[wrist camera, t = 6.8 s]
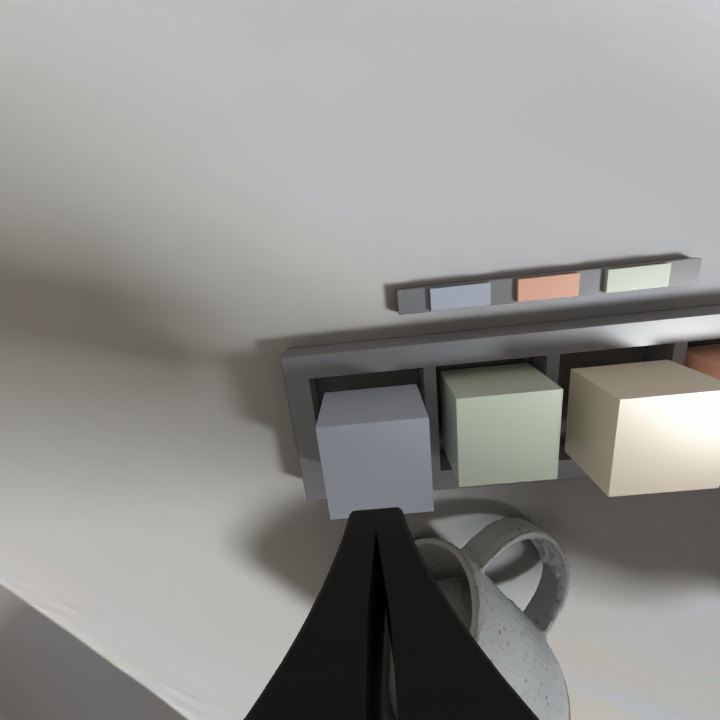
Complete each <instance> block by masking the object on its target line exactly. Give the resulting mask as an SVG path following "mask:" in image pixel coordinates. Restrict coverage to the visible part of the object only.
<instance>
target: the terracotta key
mask: <svg viewBox="0 0 720 720" xmlns="http://www.w3.org/2000/svg"><path fill="white" fill-rule="evenodd" d="M684 366H686V367H688V368H691V369H693V370H696V371H698V372H701V373H704V374H706V375H709V376H711V377H714V378H716V379H719V380H720V344H710V345H700V346H690V347H687V351H686V357H685V363H684Z"/></svg>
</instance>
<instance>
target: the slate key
mask: <svg viewBox="0 0 720 720" xmlns="http://www.w3.org/2000/svg"><path fill="white" fill-rule="evenodd" d="M316 434H317V440H318V447H319V453H320V459H321V465H322V471H323V477H324V483H325V489H326V496H327V502H328V508H329V514H330V520H334V519H346V518H349V514H350V513H351V512H352V511H356V510H368V509H380V508H392V507H399V508H400V509H401V510H403V514H407V513H419V512H431V511H434V502H433V484H432V466H431V448H430V431H429V417H428V414H427V411H426V409H425V406H424V403H423V400H422V398H421V395H420V392H419V390H418V387H417V384H410V385H399V386H389V387H379V388H368V389H358V390H348V391H337V392H327V393H324V397H323V401H322V404H321V408H320V412H319V416H318V420H317V424H316Z"/></svg>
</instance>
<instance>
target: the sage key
mask: <svg viewBox="0 0 720 720" xmlns="http://www.w3.org/2000/svg"><path fill="white" fill-rule="evenodd" d="M440 384H441V407H442V429H443V447H444V450H445V452H446V455H447V458H448V460H449V463H450V465H451V468H452V470H453V473H454V476H455V478H456V481H457V483H458V486H459V487H467V486H479V485H491V484H503V483H515V482H526V481H538V480H550V479H557V474H558V459H559V445H560V430H561V415H562V400H563V388H561V387H560V386H559V385H557V384H556V383H555V382H553V381H552V380H551V379H549V378H548V377H547V376H545V375H544V374H543V373H541V372H540V371H538V370H537V369H536V368H534V367H533V366H532V365H530V364H529V363H528V362H527V363H516V364H506V365H496V366H486V367H476V368H465V369H455V370H445V371H440Z"/></svg>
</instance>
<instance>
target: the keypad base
mask: <svg viewBox="0 0 720 720" xmlns="http://www.w3.org/2000/svg"><path fill="white" fill-rule="evenodd" d="M719 338H720V305H712V306H702V307H692V308H682V309H672V310H663V311H653V312H643V313H633V314H624V315H614V316H604V317H594V318H584V319H575V320H565V321H555V322H545V323H536V324H526V325H516V326H506V327H496V328H487V329H477V330H467V331H457V332H448V333H438V334H428V335H418V336H408V337H399V338H389V339H379V340H369V341H360V342H350V343H340V344H330V345H320V346H311V347H301V348H291V349H287V350H286V352H285V353H284V355H283V356H282V357H281V363H282V368H283V374H284V379H285V384H286V390H287V395H288V401H289V406H290V412H291V417H292V423H293V428H294V433H295V439H296V444H297V450H298V455H299V461H300V466H301V472H302V477H303V482H304V488H305V493H306V499H307V501H310V500H322V499H327V496H326V489H325V483H324V477H323V471H322V465H321V459H320V453H319V447H318V440H317V434H316V424H317V420H318V416H319V412H320V409H319V402H318V396H317V390H316V383H315V378H323V377H333V376H344V375H354V374H364V373H374V372H384V371H394V370H405V369H415V368H419V373H420V389H421V398H422V400H423V403H424V406H425V409H426V411H427V414H428V417H429V431H430V448H431V466H432V484H433V490H440V489H452V488H464V487H459V486H458V483H457V481H456V478H455V476H454V473H453V470H452V468H451V465H450V463H449V460H448V458H447V455H446V453H440V448H439V427H438V406H437V384H436V366H445V365H455V364H465V363H476V362H486V361H496V360H506V359H516V358H526V357H532V366H533V367H534V368H536V369H537V370H538V371H540V372H541V373H543V374H544V375H545V376H547V377H548V378H549V379H551V380H552V381H553V382H555V383H556V384H557V385H558V380H559V364H560V354H567V353H577V352H587V351H597V350H607V349H618V348H628V347H638V346H647V353H646V361H645V362H647V361H658V360H670V361H673V362H675V363H678V364H681V365H683V366H684V363H685V357H686V351H687V345H688V342H689V341H699V340H709V339H719ZM583 477H589V476H588V475H587V474H586V473H585V472H584V471H583V470H582V469H581V468H580V467H579V466H578V465H577V464H576V462H575V461H574V460H573V459H572V458H571V457H570V456H569V455H568V454H567V453H566V452H565V442H561V443H560V445H559V459H558V474H557V479H550V480H559V479H571V478H583ZM538 481H547V480H538ZM526 482H535V481H526ZM515 483H523V482H515ZM503 484H511V483H503ZM491 485H500V484H491ZM479 486H488V485H479ZM467 487H476V486H467Z"/></svg>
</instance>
